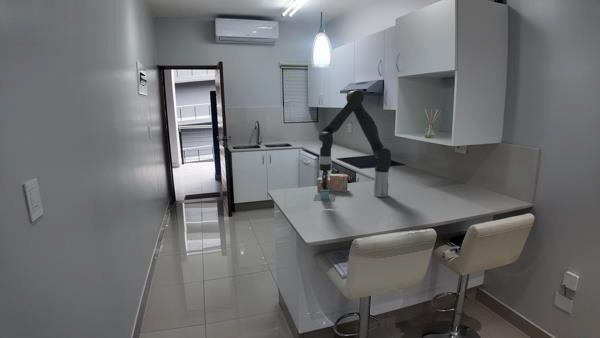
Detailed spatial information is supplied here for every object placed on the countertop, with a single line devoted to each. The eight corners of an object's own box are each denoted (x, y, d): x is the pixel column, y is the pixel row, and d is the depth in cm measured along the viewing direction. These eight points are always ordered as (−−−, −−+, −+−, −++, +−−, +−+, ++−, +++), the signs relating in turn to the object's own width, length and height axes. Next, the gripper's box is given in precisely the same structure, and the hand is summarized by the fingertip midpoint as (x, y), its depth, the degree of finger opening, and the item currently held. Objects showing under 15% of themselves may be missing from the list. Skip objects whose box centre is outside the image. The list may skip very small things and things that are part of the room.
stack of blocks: (317, 192, 233) (317, 175, 231) (317, 189, 240) (317, 173, 237) (347, 193, 231) (347, 176, 228) (347, 190, 237) (347, 174, 235)
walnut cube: (328, 188, 216) (329, 180, 215) (328, 190, 212) (328, 182, 210) (321, 187, 217) (321, 180, 216) (320, 189, 212) (320, 182, 211)
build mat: (336, 196, 222) (336, 195, 221) (334, 203, 208) (334, 201, 208) (315, 195, 224) (315, 194, 223) (313, 202, 210) (313, 200, 210)
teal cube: (328, 197, 218) (329, 189, 217) (328, 199, 213) (328, 191, 212) (321, 196, 218) (321, 189, 217) (320, 199, 214) (320, 191, 213)
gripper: (330, 165, 203) (329, 191, 207) (331, 160, 217) (331, 185, 221) (318, 164, 204) (318, 190, 208) (320, 160, 218) (320, 185, 222)
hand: (324, 188), depth 214 cm, fingers closed on walnut cube, 5 cm apart
